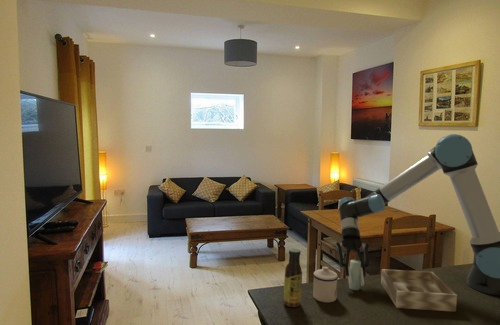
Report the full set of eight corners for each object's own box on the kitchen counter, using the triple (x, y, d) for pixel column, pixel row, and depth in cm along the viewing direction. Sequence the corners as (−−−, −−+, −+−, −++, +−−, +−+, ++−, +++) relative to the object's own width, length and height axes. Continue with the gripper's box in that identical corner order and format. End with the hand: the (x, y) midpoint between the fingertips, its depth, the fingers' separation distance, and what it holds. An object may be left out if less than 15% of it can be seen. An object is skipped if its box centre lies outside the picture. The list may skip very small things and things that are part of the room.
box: (431, 286, 140) (432, 271, 139) (455, 311, 120) (457, 295, 119) (381, 283, 142) (381, 269, 141) (396, 307, 122) (397, 291, 121)
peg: (358, 286, 139) (359, 259, 138) (360, 290, 135) (361, 263, 134) (348, 285, 139) (349, 259, 138) (350, 290, 135) (351, 263, 134)
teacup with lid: (340, 302, 125) (342, 272, 124) (316, 303, 124) (317, 272, 123) (329, 287, 137) (330, 259, 136) (307, 288, 136) (308, 260, 135)
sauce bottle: (290, 310, 119) (292, 254, 117) (279, 302, 124) (281, 249, 123) (304, 305, 123) (306, 251, 121) (293, 298, 128) (295, 246, 126)
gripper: (368, 235, 150) (376, 289, 135) (329, 234, 151) (333, 286, 136) (372, 227, 144) (381, 282, 129) (331, 225, 146) (335, 279, 131)
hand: (356, 284), depth 133 cm, fingers closed on peg, 4 cm apart
